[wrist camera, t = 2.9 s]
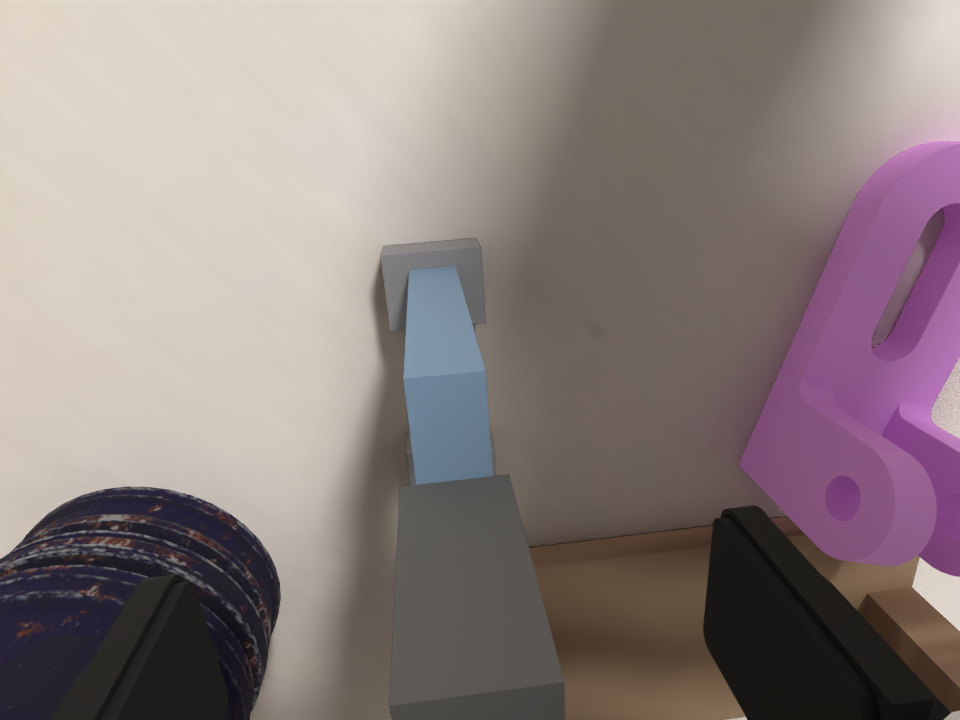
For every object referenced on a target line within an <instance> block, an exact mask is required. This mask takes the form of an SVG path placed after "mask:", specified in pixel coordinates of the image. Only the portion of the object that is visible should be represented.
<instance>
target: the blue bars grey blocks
mask: <svg viewBox="0 0 960 720" xmlns="http://www.w3.org/2000/svg"><path fill="white" fill-rule="evenodd" d="M380 256H381V264H382V272H383V280H384V287H385V295H386V303H387V311H388V319H389V326H390V332H397V331H406V338H405V356H404V374H403V381H404V389H405V397H406V405H407V413H408V421H409V429H410V432H407V442H406V458H407V466H408V474H409V481H410V485H409V486H401V487H400V493H399V514H398V535H397V555H396V576H395V597H394V618H393V638H392V659H391V680H390V701H389V707H390V713H391V719H392V720H565V683H564V678H563V674H562V671H561V667H560V663H559V660H558V656H557V652H556V648H555V645H554V641H553V637H552V633H551V630H550V626H549V622H548V618H547V615H546V611H545V607H544V604H543V600H542V596H541V592H540V589H539V585H538V581H537V577H536V574H535V570H534V566H533V562H532V559H531V555H530V551H529V547H528V544H527V540H526V536H525V533H524V529H523V525H522V521H521V518H520V514H519V510H518V506H517V503H516V499H515V495H514V491H513V488H512V484H511V480H510V476H509V474H508V475H499V476H496V471H495V456H494V444H493V440H492V436H491V432H490V428H489V414H488V399H487V384H486V370H485V367H484V363H483V360H482V356H481V353H480V349H479V346H478V342H477V339H476V335H475V332H474V328H473V325H472V324H482V323H486V319H485V303H484V288H483V273H482V258H481V247H480V245H479V243H478V241H477V239H476V238H471V239H459V240H448V241H436V242H424V243H412V244H400V245H388V246H383V248H382V252H381V255H380Z"/></svg>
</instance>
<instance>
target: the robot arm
mask: <svg viewBox="0 0 960 720" xmlns="http://www.w3.org/2000/svg"><path fill="white" fill-rule="evenodd" d="M703 634H704V639H705V643H706V645H707V648H708V650H709V652H710V654H711V656H712V657H713V659H714V661H715V663H716V664H717V666H718V668H719V670H720V672H721V673H722V675H723V677H724V679H725V680H726V682H727V684H728V686H729V688H730V689H731V691H732V693H733V695H734V696H735V698H736V700H737V702H738V704H739V705H740V707H741V709H742V711H743V713H744V714H745V716H746V718H747V720H960V710H959V711H955V712H952V713H951V712H950V711H949V710H948V709H947V708H946V707H945V706H944V705H943V704H942V702H941V701H940V700H939V699H938V698H937V697H936V696H935V695H934V694H933V693H932V692H931V691H930V689H929V688H928V687H927V686H926V685H925V684H924V683H923V682H922V681H921V680H920V679H919V677H918V676H917V675H916V674H915V673H914V672H913V671H912V670H911V669H910V668H909V667H908V665H907V664H906V663H905V662H904V661H903V660H902V659H901V658H900V657H899V656H898V655H897V654H896V652H895V651H894V650H893V649H892V648H891V647H890V646H889V645H888V644H887V643H886V642H885V640H884V639H883V638H882V637H881V636H880V635H879V634H878V633H877V632H876V631H875V630H874V628H873V627H872V626H871V625H870V624H869V623H868V622H867V621H866V620H865V619H864V618H863V616H862V615H861V614H860V613H859V612H858V611H857V610H856V609H855V608H854V607H853V606H852V605H851V603H850V602H849V601H848V600H847V599H846V598H845V597H844V596H843V595H842V594H841V593H840V591H839V590H838V589H837V588H836V587H835V586H834V585H833V584H832V583H831V582H830V581H829V580H828V579H826V578H825V577H823V576H822V575H821V574H820V573H819V572H818V571H817V570H816V569H815V567H814V566H813V565H812V564H811V563H810V562H809V561H808V560H807V559H806V558H805V557H804V555H803V554H802V553H801V552H800V551H799V550H798V549H797V548H796V547H795V546H794V544H793V543H792V542H791V541H790V540H789V539H788V538H787V537H786V536H785V535H784V533H783V532H782V531H781V530H780V529H779V528H778V527H777V526H776V525H775V524H774V523H773V521H772V520H771V519H770V518H769V517H768V516H767V515H766V514H765V513H764V512H763V510H762V509H760V508H759V507H758V506H747V507H738V508H730V509H725V510H723V512H722V514H721V518H717V519H715V520H714V522H713V529H712V539H711V550H710V560H709V571H708V581H707V592H706V602H705V613H704V623H703ZM227 711H228V692H227V688H226V685H225V681H224V678H223V675H222V672H221V669H220V665H219V662H218V659H217V656H216V652H215V649H214V646H213V643H212V639H211V636H210V633H209V630H208V626H207V623H206V620H205V617H204V613H203V610H202V607H201V604H200V601H199V597H198V594H197V591H196V588H195V585H194V584H193V583H192V582H185V580H184V578H183V577H182V576H181V575H168V576H160V577H151V578H145V579H143V580H141V581H140V583H139V584H138V585H137V587H136V588H135V590H134V592H133V593H132V595H131V597H130V598H129V600H128V601H127V603H126V605H125V606H124V608H123V610H122V611H121V613H120V614H119V616H118V618H117V619H116V621H115V623H114V624H113V626H112V627H111V629H110V631H109V632H108V634H107V636H106V637H105V639H104V640H103V642H102V644H101V645H100V647H99V649H98V650H97V652H96V653H95V655H94V657H93V658H92V660H91V662H90V663H89V665H88V666H87V668H86V670H85V671H83V672H82V673H81V674H80V675H79V676H78V678H77V679H76V680H75V681H74V683H73V684H72V686H71V688H70V689H69V691H68V692H67V694H66V696H65V697H64V699H63V700H62V702H61V704H60V705H59V707H58V708H57V710H56V712H55V713H54V715H53V716H52V718H51V720H225V719H226V715H227Z"/></svg>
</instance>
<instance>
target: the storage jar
mask: <svg viewBox="0 0 960 720" xmlns="http://www.w3.org/2000/svg"><path fill="white" fill-rule="evenodd" d="M168 575H181V576H182V577H183V578H184V580H185V582H192V583H193V584H194V585H195V588H196V591H197V594H198V597H199V601H200V604H201V607H202V610H203V613H204V617H205V620H206V623H207V626H208V630H209V633H210V636H211V639H212V643H213V646H214V649H215V652H216V656H217V659H218V662H219V665H220V669H221V672H222V675H223V678H224V681H225V685H226V688H227V692H228V711H227V715H226V719H225V720H250V713H251V711H252V710H253V708H254V705H255V702H256V700H257V697H258V694H259V691H260V687H261V684H262V680H263V677H264V673H265V670H266V664H267V657H268V648H269V643H270V637H271V634H272V631H273V629H274V626H275V623H276V620H277V616H278V613H279V606H280V599H281V595H280V582H279V578H278V575H277V571H276V567H275V565H274V563H273V561H272V559H271V557H270V555H269V553H268V552H267V550H266V549H265V547H264V546H263V545H262V543H261V542H260V540H259V539H258V538H257V537H256V536H255V535H254V534H253V533H252V532H251V531H250V530H249V529H248V528H247V527H246V526H245V525H244V524H243V523H241V522H240V521H239V520H237V519H236V518H235V517H233V516H232V515H231V514H229V513H227V512H226V511H224V510H222V509H220V508H218V507H217V506H215V505H213V504H211V503H209V502H206V501H204V500H201V499H199V498H196V497H194V496H191V495H187V494H183V493H180V492H176V491H172V490H166V489H159V488H151V487H120V488H112V489H104V490H100V491H96V492H92V493H89V494H85V495H82V496H80V497H77V498H75V499H73V500H70V501H68V502H66V503H64V504H62V505H61V506H59V507H58V508H56V509H55V510H53V511H52V512H50V513H48V514H47V515H46V516H45V517H44V518H43V519H42V520H41V521H40V522H39V523H38V524H37V525H36V526H35V527H34V528H33V529H32V530H31V531H30V532H29V533H28V534H27V535H26V536H25V538H24V539H23V541H22V542H21V543H20V544H19V545H17V546H16V547H15V548H14V549H13V550H12V551H11V552H10V553H9V554H7V555H6V556H4V557H3V558H1V559H0V720H51V718H52V716H53V715H54V713H55V712H56V710H57V708H58V707H59V705H60V704H61V702H62V700H63V699H64V697H65V696H66V694H67V692H68V691H69V689H70V688H71V686H72V684H73V683H74V681H75V680H76V679H77V678H78V676H79V675H80V674H81V673H82V672H83V671H85V670H86V668H87V666H88V665H89V663H90V662H91V660H92V658H93V657H94V655H95V653H96V652H97V650H98V649H99V647H100V645H101V644H102V642H103V640H104V639H105V637H106V636H107V634H108V632H109V631H110V629H111V627H112V626H113V624H114V623H115V621H116V619H117V618H118V616H119V614H120V613H121V611H122V610H123V608H124V606H125V605H126V603H127V601H128V600H129V598H130V597H131V595H132V593H133V592H134V590H135V588H136V587H137V585H138V584H139V583H140V581H141V580H143V579H145V578H151V577H160V576H168Z"/></svg>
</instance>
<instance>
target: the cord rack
mask: <svg viewBox="0 0 960 720" xmlns="http://www.w3.org/2000/svg"><path fill="white" fill-rule="evenodd" d="M770 519H771V520H772V521H773V523H774V524H775V525H776V526H777V527H778V528H779V529H780V530H781V531H782V532H783V533H784V535H785V536H786V537H787V538H788V539H789V540H790V541H791V542H792V543H793V544H794V546H795V547H796V548H797V549H798V550H799V551H800V552H801V553H802V554H803V555H804V557H805V558H806V559H807V560H808V561H809V562H810V563H811V564H812V565H813V566H814V567H815V569H816V570H817V571H818V572H819V573H820V574H821V575H822V576H823V577H825V578H826V579H828V580H829V581H830V582H831V583H832V584H833V585H834V586H835V587H836V588H837V589H838V590H839V591H840V593H841V594H842V595H843V596H844V597H845V598H846V599H847V600H848V601H849V602H850V603H851V605H852V606H853V607H854V608H855V609H856V610H857V611H858V612H859V613H860V614H861V615H862V616H863V618H864V619H865V620H866V621H867V622H868V623H869V624H870V625H871V626H872V627H873V628H874V630H875V631H876V632H877V633H878V634H879V635H880V636H881V637H882V638H883V639H884V640H885V642H886V643H887V644H888V645H889V646H890V647H891V648H892V649H893V650H894V651H895V652H896V654H897V655H898V656H899V657H900V658H901V659H902V660H903V661H904V662H905V663H906V664H907V665H908V667H909V668H910V669H911V670H912V671H913V672H914V673H915V674H916V675H917V676H918V677H919V679H920V680H921V681H922V682H923V683H924V684H925V685H926V686H927V687H928V688H929V689H930V691H931V692H932V693H933V694H934V695H935V696H936V697H937V698H938V699H939V700H940V701H941V702H942V704H943V705H944V706H945V707H946V708H947V709H948V710H949V711H950V712H951V713H952V712H955V711H959V710H960V631H959V630H957V629H956V628H955V627H954V626H953V625H952V624H951V623H950V622H949V621H948V620H947V619H946V618H944V617H943V616H942V615H941V614H940V613H939V612H938V611H937V610H936V609H935V608H934V607H933V606H931V605H930V604H929V603H928V602H927V601H926V600H925V599H924V598H923V597H922V596H921V595H920V594H918V593H917V592H916V591H915V590H914V589H913V588H912V584H913V580H914V577H915V573H916V569H917V565H918V561H919V557H920V556H918V555H917V556H916V557H915V558H913V559H912V560H910V561H908V562H906V563H904V564H901V565H897V566H879V565H872V564H865V563H857V562H850V561H843V560H838V559H835V558H833V557H830V556H829V555H827V554H825V553H824V552H823V551H821V550H820V549H819V548H818V547H817V546H816V545H815V544H814V543H813V542H812V541H811V540H810V539H809V538H808V537H807V536H806V534H805V533H804V532H803V531H802V530H801V529H800V528H799V527H798V526H797V525H796V524H795V523H794V522H793V521H792V520H791V519H790V518H789V517H788V516H787V517H779V518H770ZM712 529H713V525H712V526H704V527H696V528H688V529H679V530H671V531H663V532H654V533H646V534H638V535H630V536H621V537H613V538H605V539H597V540H588V541H580V542H572V543H563V544H555V545H547V546H539V547H530V548H529V551H530V555H531V559H532V562H533V566H534V570H535V574H536V577H537V581H538V585H539V589H540V592H541V596H542V600H543V604H544V607H545V611H546V615H547V618H548V622H549V626H550V630H551V633H552V637H553V641H554V645H555V648H556V652H557V656H558V660H559V663H560V667H561V671H562V674H563V678H564V683H565V720H725V719H732V718H739V717H746V716H745V714H744V713H743V711H742V709H741V707H740V705H739V704H738V702H737V700H736V698H735V696H734V695H733V693H732V691H731V689H730V688H729V686H728V684H727V682H726V680H725V679H724V677H723V675H722V673H721V672H720V670H719V668H718V666H717V664H716V663H715V661H714V659H713V657H712V656H711V654H710V652H709V650H708V648H707V645H706V643H705V639H704V634H703V623H704V613H705V602H706V592H707V581H708V571H709V560H710V550H711V539H712Z"/></svg>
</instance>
